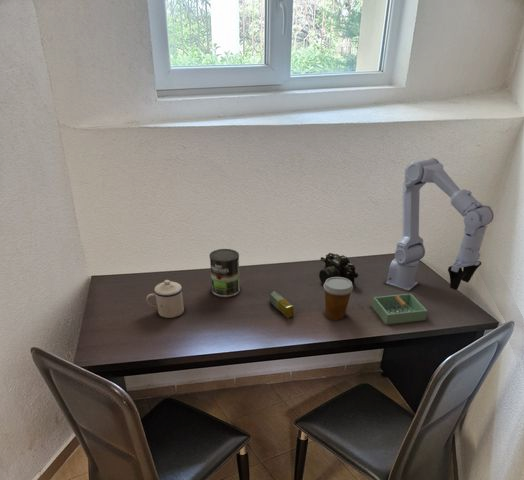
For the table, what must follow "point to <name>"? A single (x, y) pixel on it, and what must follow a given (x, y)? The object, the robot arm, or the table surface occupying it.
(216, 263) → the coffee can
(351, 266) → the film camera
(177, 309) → the teacup with lid
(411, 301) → the green open tray
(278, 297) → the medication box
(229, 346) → the table surface
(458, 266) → the robot arm
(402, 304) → the dish rack
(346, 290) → the disposable coffee cup
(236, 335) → the table surface
